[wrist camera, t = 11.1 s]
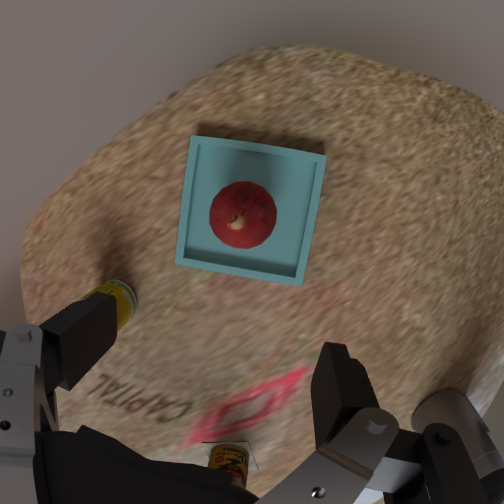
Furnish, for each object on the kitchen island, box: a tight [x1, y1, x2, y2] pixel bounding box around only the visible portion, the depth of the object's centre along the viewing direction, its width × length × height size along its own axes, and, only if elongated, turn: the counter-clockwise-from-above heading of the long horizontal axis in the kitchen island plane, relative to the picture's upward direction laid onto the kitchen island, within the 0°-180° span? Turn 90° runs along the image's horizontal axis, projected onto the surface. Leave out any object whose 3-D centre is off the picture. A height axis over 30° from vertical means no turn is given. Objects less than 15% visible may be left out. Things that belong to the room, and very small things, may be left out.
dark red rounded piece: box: [209, 181, 277, 249], centre depth 26 cm, size 6×6×8 cm
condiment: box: [201, 442, 259, 490], centre depth 34 cm, size 7×8×12 cm
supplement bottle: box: [78, 279, 137, 332], centre depth 29 cm, size 5×5×10 cm
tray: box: [175, 135, 327, 287], centre depth 29 cm, size 13×13×2 cm
